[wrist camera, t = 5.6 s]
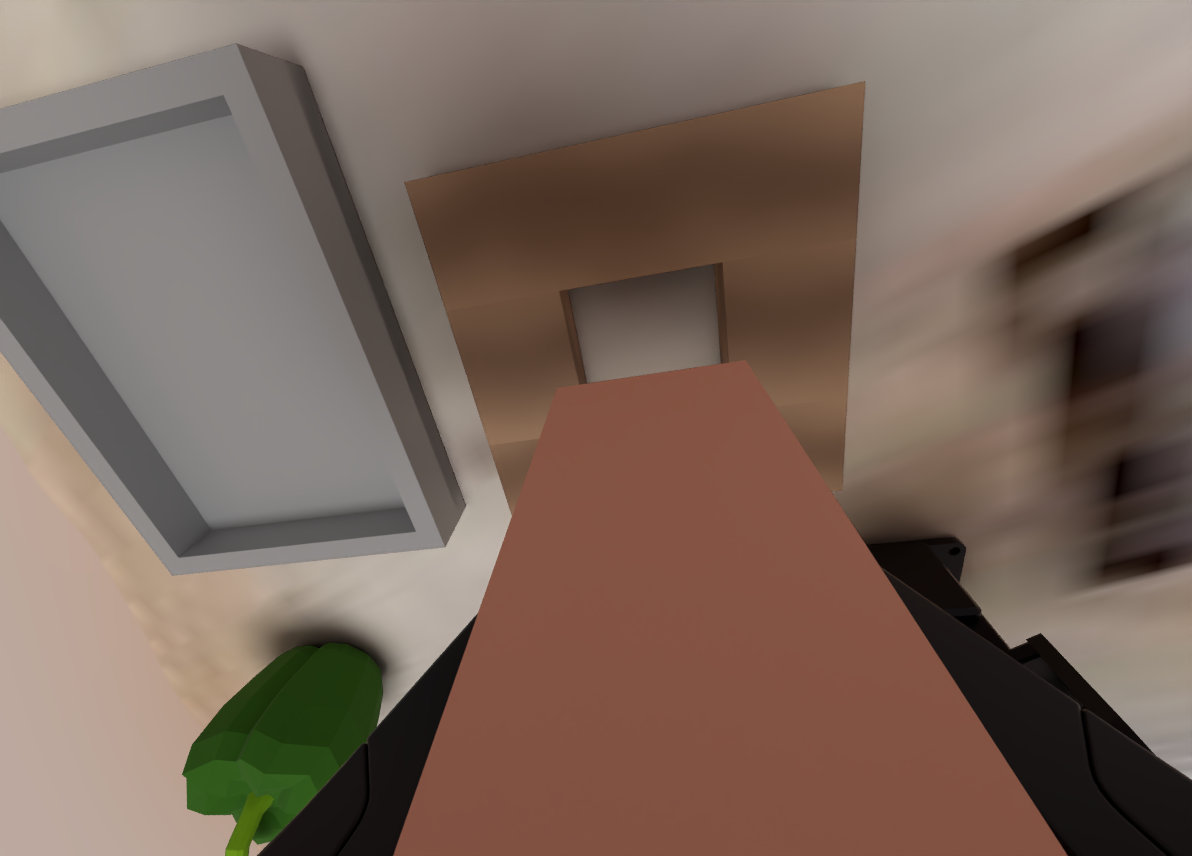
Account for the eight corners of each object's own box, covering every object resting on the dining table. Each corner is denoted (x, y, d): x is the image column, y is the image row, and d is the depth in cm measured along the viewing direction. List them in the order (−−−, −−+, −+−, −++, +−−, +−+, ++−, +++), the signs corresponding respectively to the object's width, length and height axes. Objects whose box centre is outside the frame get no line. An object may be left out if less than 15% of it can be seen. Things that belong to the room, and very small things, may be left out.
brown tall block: (752, 515, 12) (1024, 1253, 4) (591, 531, 12) (517, 1205, 4) (745, 359, 10) (1246, 1132, 2) (556, 387, 10) (315, 1076, 2)
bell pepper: (278, 603, 28) (114, 799, 19) (415, 645, 29) (320, 851, 20) (270, 686, 32) (129, 882, 23) (391, 721, 33) (302, 922, 24)
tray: (465, 506, 24) (445, 547, 21) (219, 534, 26) (172, 575, 23) (302, 66, 16) (236, 43, 13) (-36, 155, 18) (-154, 151, 15)
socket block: (824, 464, 21) (842, 490, 20) (524, 499, 23) (515, 525, 22) (837, 92, 15) (865, 81, 13) (427, 182, 17) (404, 182, 15)
